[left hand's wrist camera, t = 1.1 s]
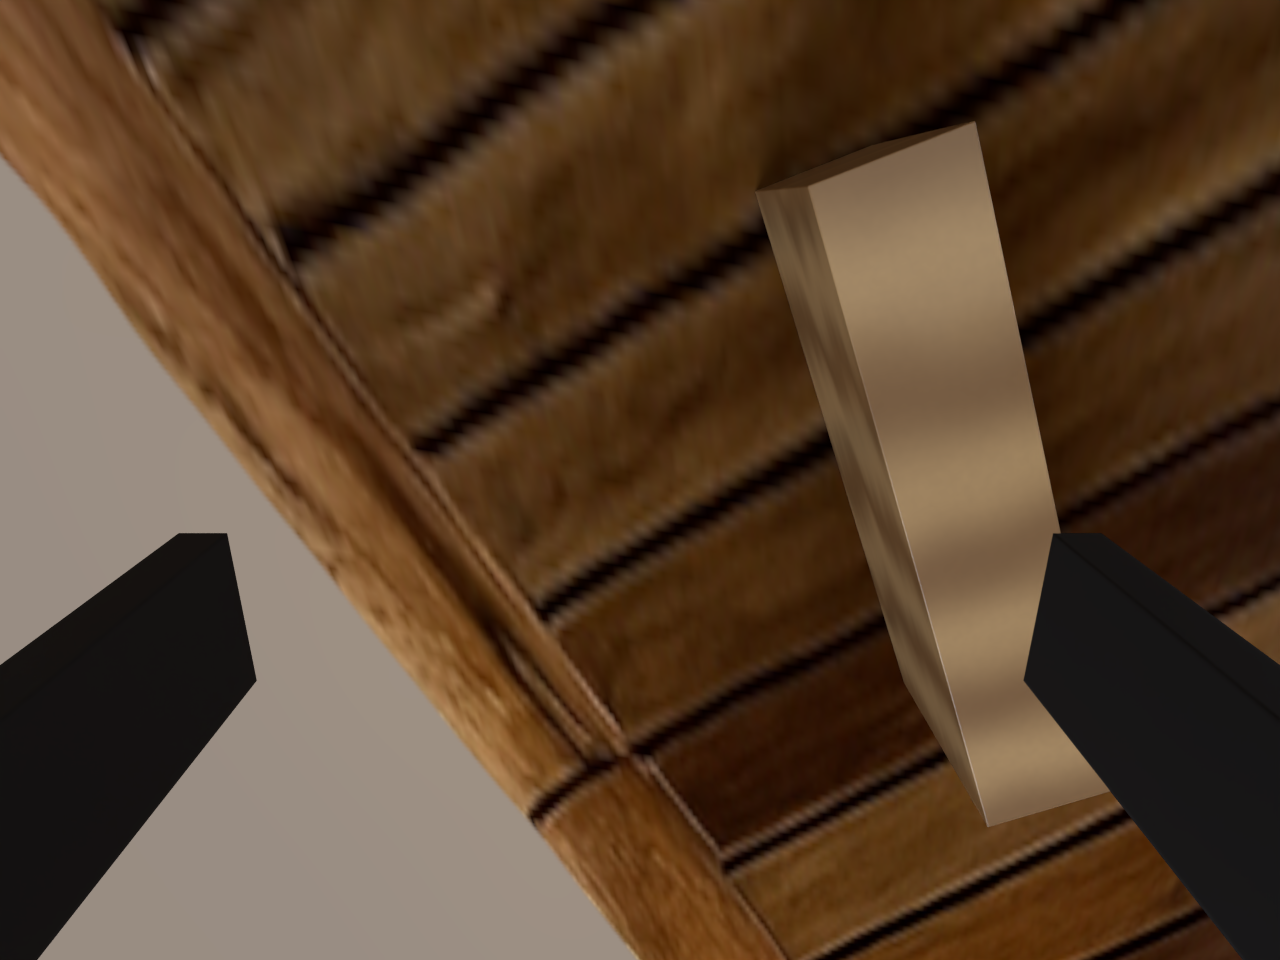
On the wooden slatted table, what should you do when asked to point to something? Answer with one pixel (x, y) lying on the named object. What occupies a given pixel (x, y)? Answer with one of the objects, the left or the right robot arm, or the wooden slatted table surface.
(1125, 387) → the wooden slatted table surface
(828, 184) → the bar
